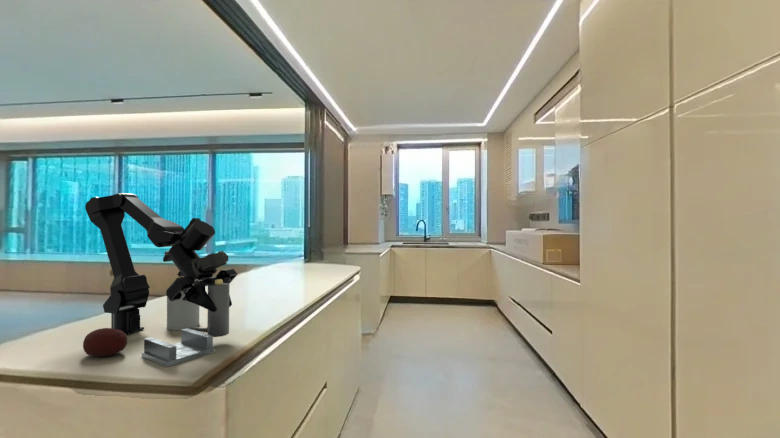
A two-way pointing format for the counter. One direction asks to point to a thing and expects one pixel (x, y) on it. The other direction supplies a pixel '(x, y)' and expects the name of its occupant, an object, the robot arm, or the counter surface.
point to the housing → (178, 348)
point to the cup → (182, 314)
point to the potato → (104, 342)
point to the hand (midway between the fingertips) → (223, 308)
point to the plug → (220, 317)
